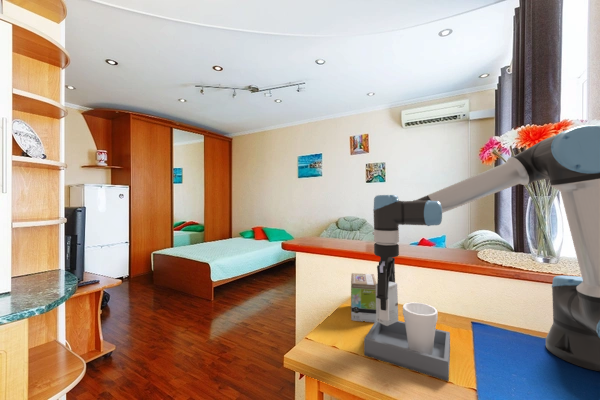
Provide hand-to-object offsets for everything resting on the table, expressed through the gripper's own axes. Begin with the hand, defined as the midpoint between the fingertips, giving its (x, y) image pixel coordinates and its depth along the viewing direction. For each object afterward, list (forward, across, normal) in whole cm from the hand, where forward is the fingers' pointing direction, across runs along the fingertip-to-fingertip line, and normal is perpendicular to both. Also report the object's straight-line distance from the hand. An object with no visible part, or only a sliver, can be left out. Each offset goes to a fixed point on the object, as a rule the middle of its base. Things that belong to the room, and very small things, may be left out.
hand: (387, 314), depth 82 cm
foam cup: (+9, 0, +10) cm, 13 cm away
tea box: (+10, -19, -14) cm, 26 cm away
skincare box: (+2, 0, 0) cm, 2 cm away
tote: (+10, 0, +6) cm, 12 cm away
